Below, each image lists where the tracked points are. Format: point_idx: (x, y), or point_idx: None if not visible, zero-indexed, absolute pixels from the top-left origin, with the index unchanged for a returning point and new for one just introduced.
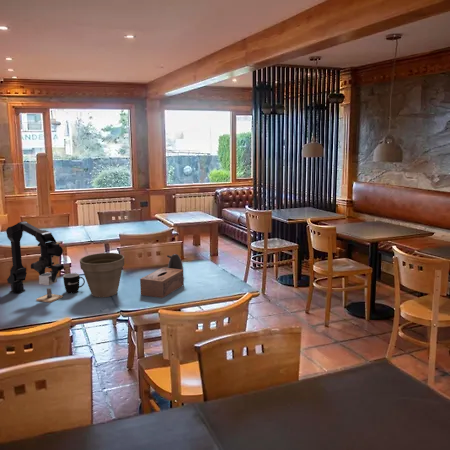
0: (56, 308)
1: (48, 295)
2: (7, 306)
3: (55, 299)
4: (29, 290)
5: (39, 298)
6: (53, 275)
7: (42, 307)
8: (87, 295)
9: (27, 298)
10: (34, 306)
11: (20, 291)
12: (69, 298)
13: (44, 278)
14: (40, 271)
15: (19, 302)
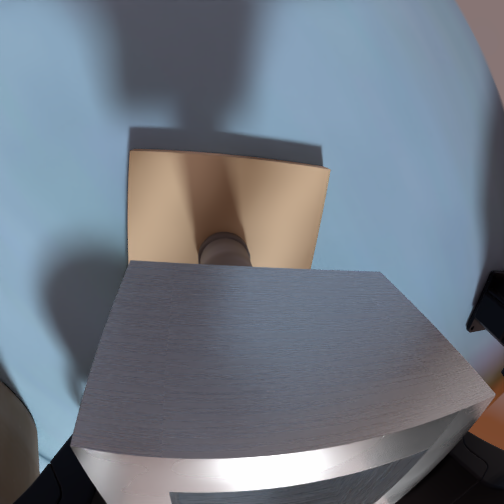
0: (3, 47)
1: (220, 242)
2: (452, 17)
3: (128, 224)
4: (448, 339)
5: (305, 189)
6: (25, 495)
7: (136, 8)
8: (14, 372)
9: (420, 205)
10: (238, 10)
11: (486, 293)
12: (59, 300)
13: (283, 374)
14: (487, 501)
15: (431, 102)
